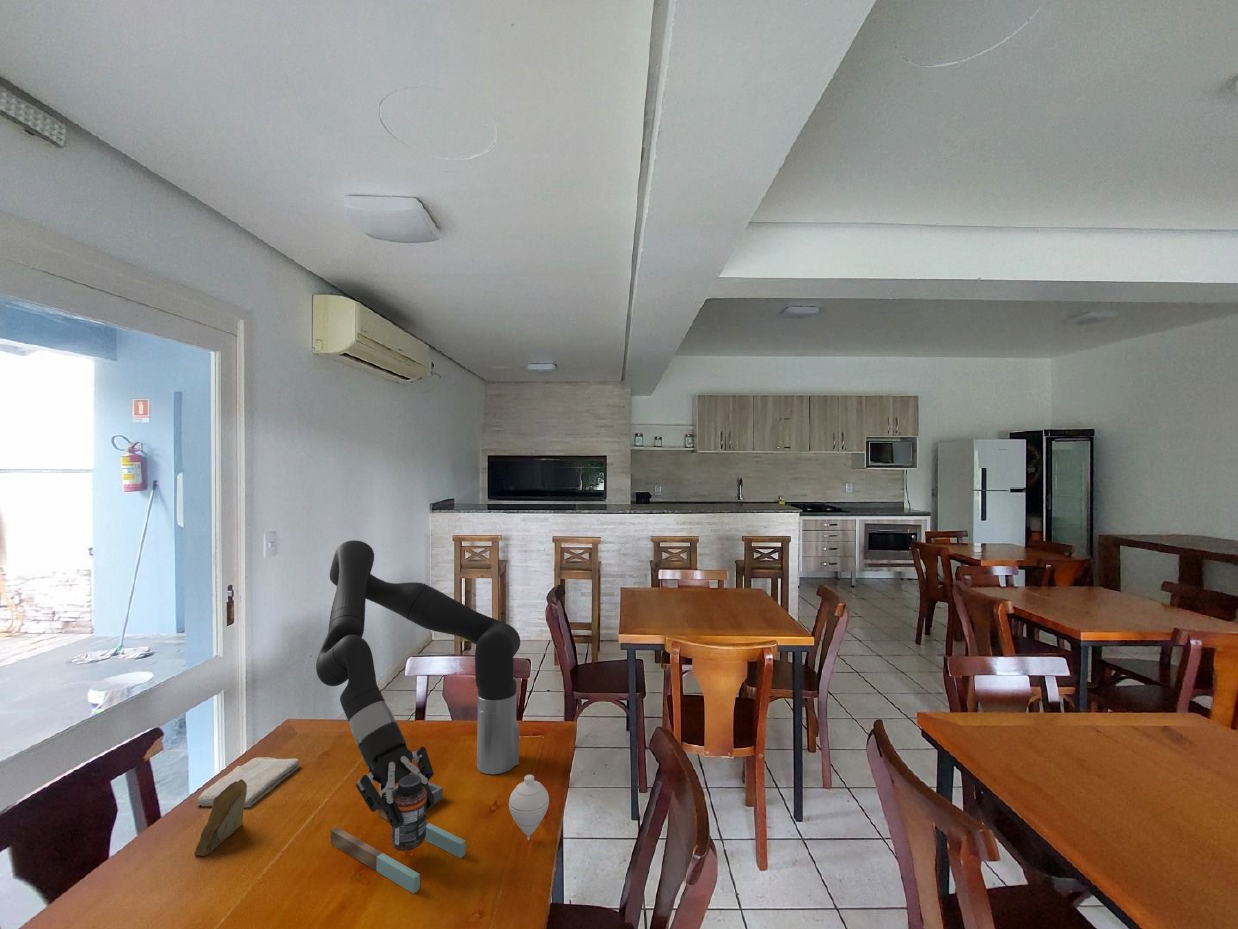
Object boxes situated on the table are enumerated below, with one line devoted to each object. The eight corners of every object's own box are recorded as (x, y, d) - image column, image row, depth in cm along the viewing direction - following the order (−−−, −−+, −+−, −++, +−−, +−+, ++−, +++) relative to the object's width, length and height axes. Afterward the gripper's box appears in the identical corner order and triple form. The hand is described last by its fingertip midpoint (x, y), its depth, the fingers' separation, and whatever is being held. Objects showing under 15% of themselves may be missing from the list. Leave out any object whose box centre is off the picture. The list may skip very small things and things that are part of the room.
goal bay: (376, 871, 98) (376, 857, 98) (428, 836, 107) (429, 823, 107) (413, 894, 92) (413, 878, 92) (465, 854, 102) (465, 841, 102)
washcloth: (302, 767, 134) (302, 754, 134) (249, 811, 116) (250, 796, 116) (254, 765, 134) (255, 752, 134) (195, 809, 116) (195, 795, 116)
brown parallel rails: (330, 843, 105) (330, 830, 105) (383, 813, 115) (383, 800, 115) (376, 871, 98) (376, 857, 98) (429, 836, 107) (429, 823, 107)
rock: (208, 852, 99) (264, 815, 108) (186, 809, 100) (244, 775, 109) (185, 871, 103) (241, 833, 112) (165, 829, 105) (222, 795, 114)
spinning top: (555, 832, 109) (555, 770, 109) (537, 857, 102) (537, 790, 102) (520, 824, 111) (521, 763, 112) (500, 848, 104) (501, 783, 104)
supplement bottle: (397, 831, 104) (398, 771, 104) (429, 830, 104) (431, 770, 105) (386, 853, 98) (388, 789, 98) (420, 852, 98) (422, 788, 99)
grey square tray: (379, 807, 117) (379, 795, 117) (415, 787, 124) (415, 776, 124) (407, 821, 112) (407, 808, 112) (442, 799, 120) (442, 787, 120)
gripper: (400, 728, 114) (437, 806, 108) (332, 758, 102) (370, 848, 95) (417, 709, 111) (456, 787, 105) (350, 737, 99) (390, 828, 93)
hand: (415, 816), depth 100 cm, fingers closed on supplement bottle, 6 cm apart
